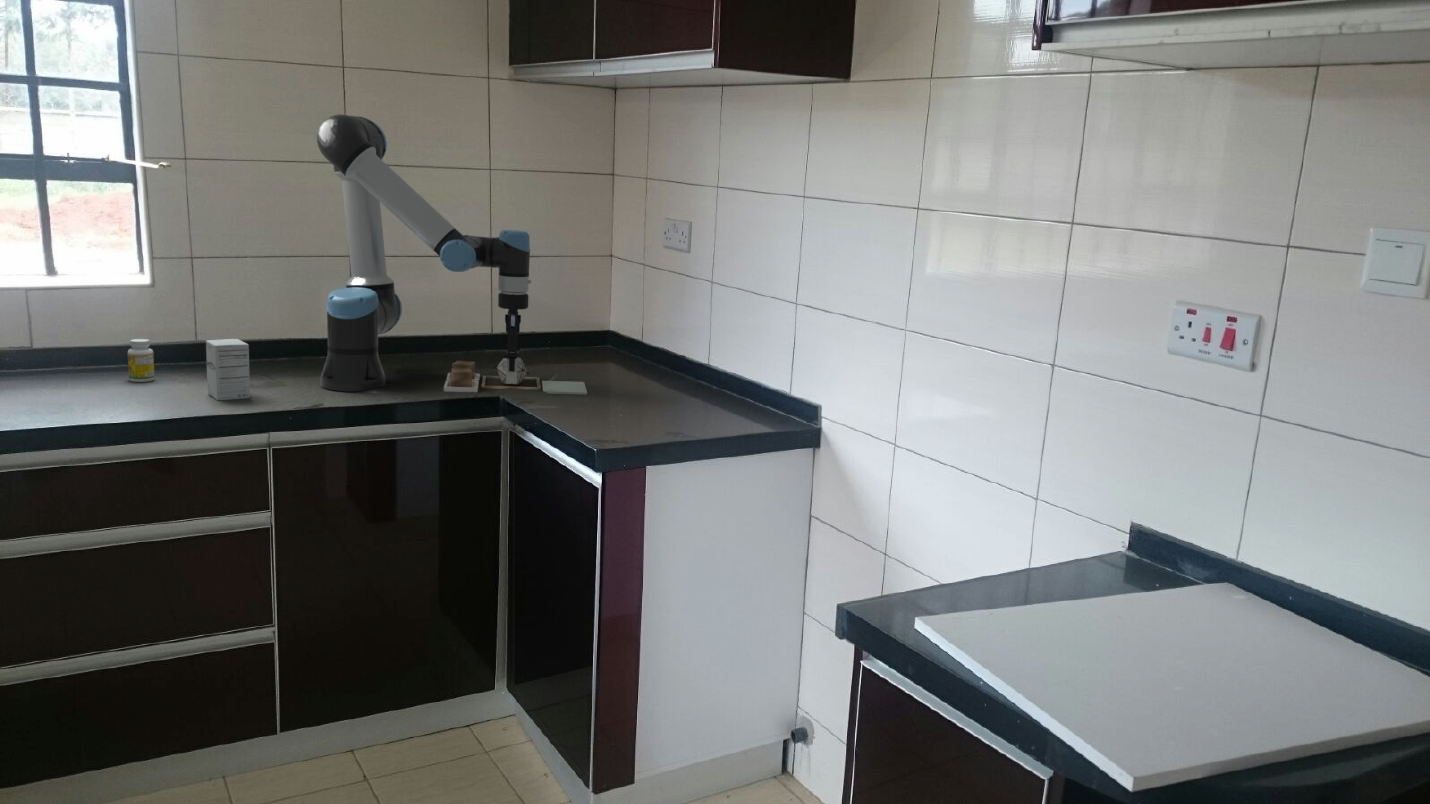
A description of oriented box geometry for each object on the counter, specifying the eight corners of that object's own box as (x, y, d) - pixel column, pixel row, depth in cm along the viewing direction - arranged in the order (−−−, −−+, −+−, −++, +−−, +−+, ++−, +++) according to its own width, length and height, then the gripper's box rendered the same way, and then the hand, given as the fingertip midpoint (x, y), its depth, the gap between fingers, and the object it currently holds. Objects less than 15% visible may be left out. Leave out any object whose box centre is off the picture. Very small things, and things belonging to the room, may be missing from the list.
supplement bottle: (154, 382, 251) (152, 342, 249) (128, 382, 249) (126, 342, 247) (154, 377, 256) (152, 338, 254) (129, 378, 253) (126, 338, 251)
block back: (451, 381, 271) (452, 363, 270) (457, 377, 276) (457, 360, 275) (469, 382, 271) (469, 365, 270) (474, 379, 275) (474, 362, 274)
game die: (517, 398, 276) (541, 368, 276) (508, 393, 267) (533, 362, 268) (490, 378, 277) (514, 348, 278) (481, 372, 269) (506, 341, 269)
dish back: (446, 385, 269) (446, 379, 268) (448, 378, 276) (448, 372, 276) (478, 386, 270) (478, 379, 270) (479, 379, 278) (479, 373, 278)
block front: (453, 390, 261) (453, 372, 260) (451, 386, 265) (451, 368, 264) (471, 390, 262) (472, 372, 261) (469, 386, 267) (469, 368, 266)
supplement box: (206, 394, 243) (204, 339, 240) (240, 391, 247) (239, 338, 245) (216, 401, 237) (214, 345, 234) (251, 398, 242) (249, 343, 239)
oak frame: (481, 390, 266) (481, 386, 265) (482, 379, 279) (483, 375, 278) (540, 391, 268) (540, 388, 268) (539, 381, 281) (539, 377, 281)
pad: (543, 393, 267) (543, 391, 266) (541, 383, 279) (541, 380, 279) (587, 394, 269) (587, 392, 269) (583, 384, 281) (584, 381, 281)
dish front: (443, 393, 259) (443, 387, 259) (445, 386, 267) (445, 380, 267) (477, 394, 261) (477, 388, 260) (478, 387, 268) (478, 381, 268)
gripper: (529, 298, 259) (526, 388, 263) (528, 287, 280) (525, 371, 284) (497, 297, 257) (495, 388, 262) (499, 286, 278) (497, 370, 283)
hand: (511, 379), depth 273 cm, fingers closed on game die, 9 cm apart
